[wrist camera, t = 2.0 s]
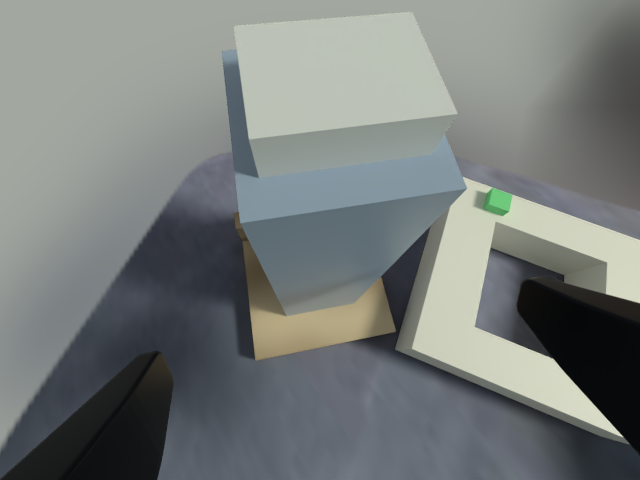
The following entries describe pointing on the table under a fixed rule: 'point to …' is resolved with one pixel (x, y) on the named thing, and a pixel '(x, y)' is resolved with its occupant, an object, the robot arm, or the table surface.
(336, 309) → the tan base plate
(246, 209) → the plug
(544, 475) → the table surface
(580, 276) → the block
